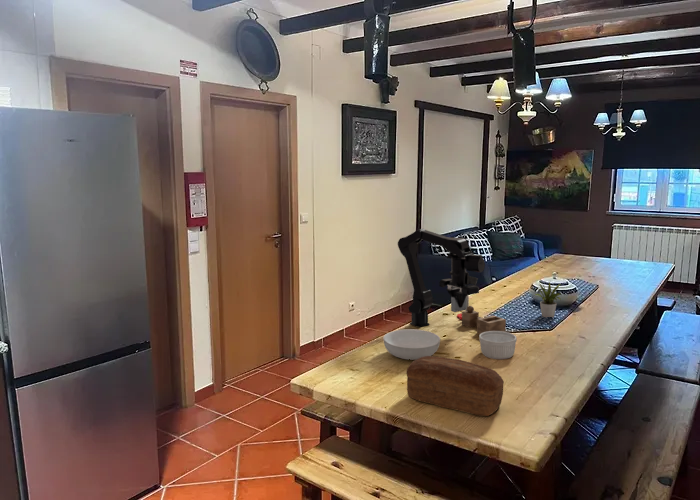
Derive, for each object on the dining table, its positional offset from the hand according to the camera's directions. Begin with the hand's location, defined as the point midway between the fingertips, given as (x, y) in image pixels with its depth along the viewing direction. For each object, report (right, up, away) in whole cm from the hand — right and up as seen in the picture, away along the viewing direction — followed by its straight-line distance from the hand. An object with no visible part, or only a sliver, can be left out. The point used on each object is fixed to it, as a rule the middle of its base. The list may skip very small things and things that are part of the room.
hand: (458, 306), depth 218 cm
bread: (-14, -22, -61) cm, 66 cm away
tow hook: (+8, -8, +23) cm, 25 cm away
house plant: (+43, -7, +21) cm, 48 cm away
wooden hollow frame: (+11, -10, +5) cm, 15 cm away
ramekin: (+9, -15, -24) cm, 30 cm away
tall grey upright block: (0, -2, 0) cm, 2 cm away
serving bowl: (-22, -16, -22) cm, 35 cm away
